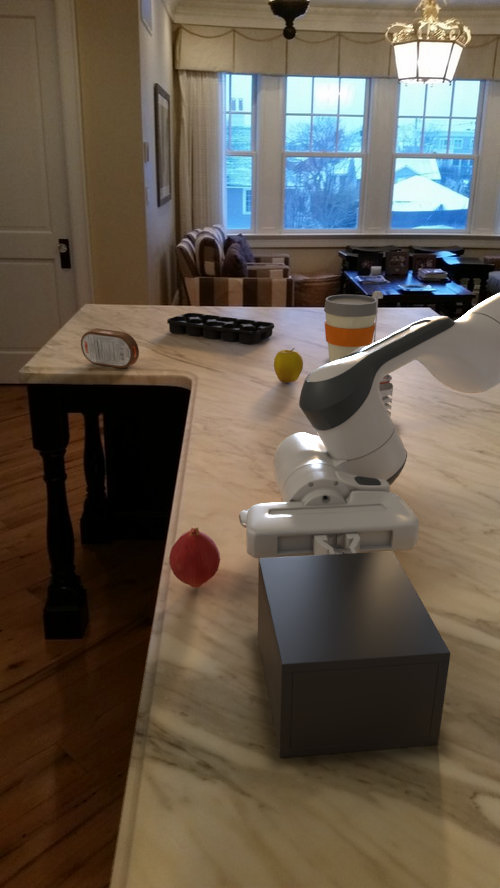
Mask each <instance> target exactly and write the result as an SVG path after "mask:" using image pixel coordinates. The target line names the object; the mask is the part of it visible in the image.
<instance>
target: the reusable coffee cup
mask: <svg viewBox="0 0 500 888" xmlns="http://www.w3.org/2000/svg"><path fill="white" fill-rule="evenodd" d="M376 304H377V299H376V298H372V296H368V295H364V294H335V295H329V296H327V297H326V298H325V301H324V307H323V308H324V309H323V311H324V313H325V321H324V332H325V333H324V335H325V341H326V343H327V348H328V349H327V350H328V361H329V363H330V362H333V361H335V360H338V359H340V358H343V357H345V356H348V355H350V353H352V352H353V351H354V350H356V349H358V348H359V347H363V346H367V345H370V344H372V343H373V341H374V332H375V318H376ZM377 314H378V310H377Z"/></svg>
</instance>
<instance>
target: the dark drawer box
mask: <svg viewBox="0 0 500 888" xmlns="http://www.w3.org/2000/svg"><path fill="white" fill-rule="evenodd" d="M257 567H258V569H257V570H258V571H257V572H258V573H257V574H258V575H257V579H258V581H257V582H258V583H257V602H258V603H257V641H258V647H259V653H260V657H261V664H262V669H263V675H264V679H265V687H266V691H267V696H268V702H269V707H270V713H271V719H272V723H273V729H274V736H275V741H276V745H277V751H278V757H279V758H281V759H282V758H283V759H284V758H293V757H295V758H296V757H306V756H307V757H308V756H317V755H318V756H319V755H330V754H331V755H332V754H342V753H355V752H365V751H376V750H377V751H378V750H389V749H402V748H415V747H426V746H437V745H439V740H440V733H441V725H442V720H443V719H442V717H443V711H444V705H445V704H444V703H445V697H446V689H447V682H448V675H449V669H450V668H449V667H450V659H451V651H450V649H449V647H448V646H447V644H446V642H445V641H444V639H443V637H442V635H441V633H440V631H439V630H438V628H437V626H436V625H435V624H436V623H435V622H434V621H433V619H432V617H431V615H430V613H429V612H428V610H427V608H426V607H425V605H424V603H423V601H422V599H421V598H420V596H419V594H418V592H417V591H416V589H415V587H414V585H413V583H412V582H411V580H410V578H409V577H408V574H407V572H406V571H405V569H404V567H403V565H402V564H401V562H400V560H399V558H398V557H397V555H396V553H395V551H380V552H362V553H348V554H330V555H310V556H292V557H274V558H258V566H257Z"/></svg>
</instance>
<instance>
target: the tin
mask: <svg viewBox="0 0 500 888" xmlns="http://www.w3.org/2000/svg"><path fill="white" fill-rule="evenodd" d="M80 348H81V353H82V355H83V356H84V358H85V360H87V361H89V362H90V363H91V364H93V365H97V366H104V367H111V368H117V369H126V368H128V367H130V366H133V365H135V364H136V363H137V361H138V360H139V356H140V349H139V345H138V343H137V340H135V338H134V337H133V336H132V335H130V334H129V333H128V332H125V331H119V330H113V329H106V328H98V327H95V328H92V329H90V330H88V331H86V332H85V333H84V334H83V335H82V336H81V338H80Z"/></svg>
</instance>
